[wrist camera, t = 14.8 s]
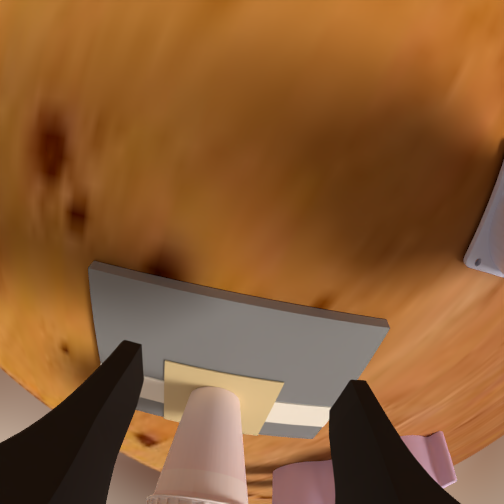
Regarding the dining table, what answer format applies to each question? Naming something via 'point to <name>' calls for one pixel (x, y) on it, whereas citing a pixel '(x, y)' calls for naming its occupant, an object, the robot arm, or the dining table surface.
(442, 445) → the clip
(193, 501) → the smoothie
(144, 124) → the dining table surface
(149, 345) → the board
